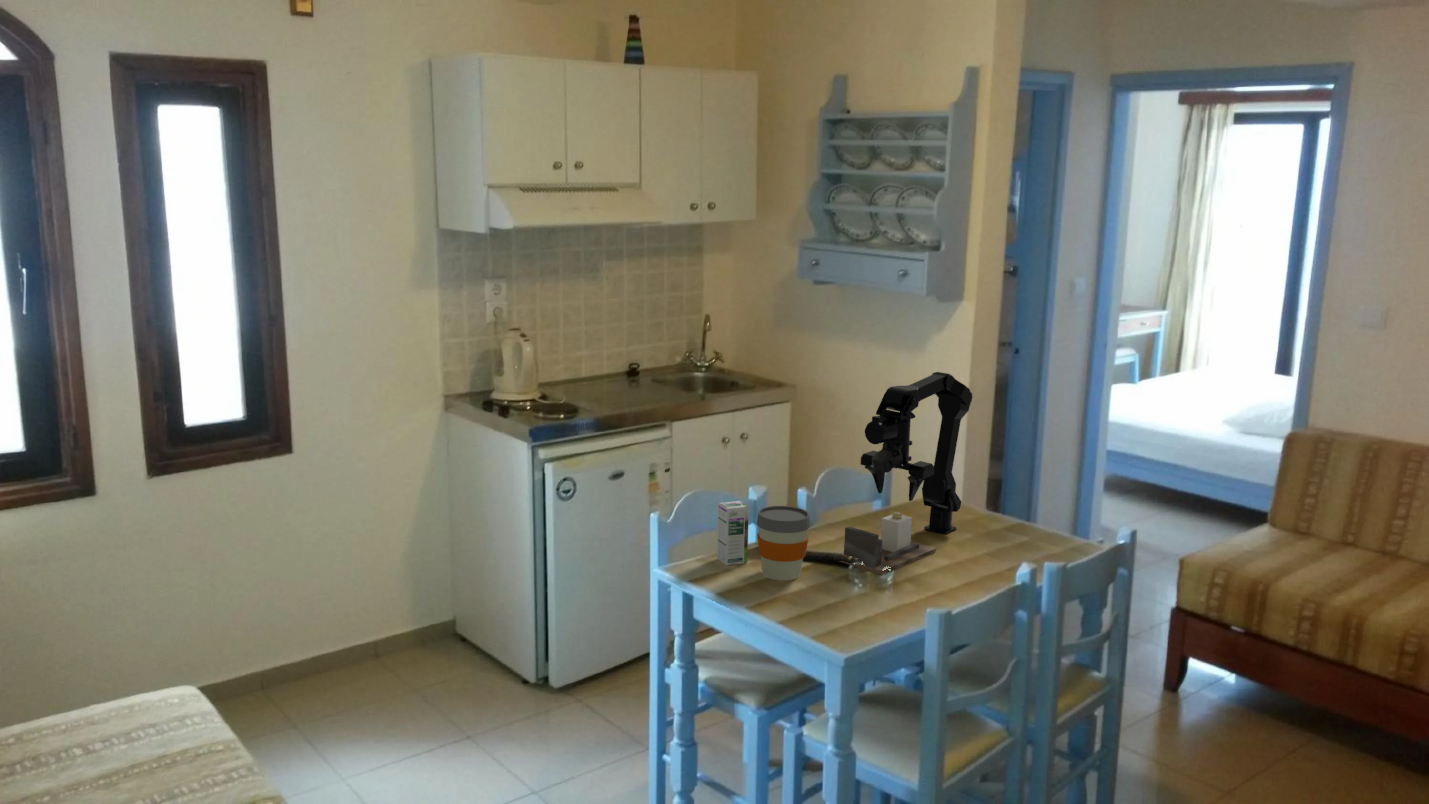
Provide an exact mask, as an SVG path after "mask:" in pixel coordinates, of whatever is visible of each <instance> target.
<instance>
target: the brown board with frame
mask: <svg viewBox="0 0 1429 804" xmlns="http://www.w3.org/2000/svg"><path fill="white" fill-rule="evenodd" d="M879 537H880V535H879V534H877V533H874V532H870V531H867V530H863V529H859V528H856V527H854V526H846V527H845V528H844V544H843V545H844V546H843V552H842V553H841V554H842V555H847V556H852V557H856V558H859V559H860V560H862V561H863V563H864V564H865V566H864V565H861V564H860V565H856V564H855V565H854V564H852V563H848V562H844V561H838V562H839V563H843V564H845V565H849V566H851V567H855V568H858V569H861V570H865V571H868V572H871V573H874V574H877V575H881V576H884V575H886V574H888V573H890V572H893V571H894V570H897V569H900V568H901V567H904V566H906V565H909V564H911V563H913V562H916V561H918V560H920V559H922V558H925V557H927V556H929V555H931V554H934V553H936V551H937V548H936V547H933V546H929V545H926V544H923V543H918V542H915V541H912V540H911V541H910V546H908V547H905V548H903V549H901V550H898V551H896V552H890V551H887V550H883V549H882V541H883V540H881V538H879ZM834 561H836V560H835V559H834ZM836 562H837V561H836ZM886 566H887V567H888V566H889V567H891V568H888V569H891V571H889V570H888V569H886V570H884V571H882V569H883V568H884V567H886Z"/></svg>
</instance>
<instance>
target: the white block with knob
mask: <svg viewBox="0 0 1429 804" xmlns="http://www.w3.org/2000/svg"><path fill="white" fill-rule="evenodd" d="M912 522H913V517H911V516H907V515H904V514H903V513H902V512H900V511H894V512H893V511H892V513H891V514H890V515H887V516H884V517H882V518H881V524H880V525H881V527H880V529H881V530H880V539H881V540H883V541H882V549H883V550H887V551H890V552H896V551H898V550H901V549H903V548H905V547H908V546H910V541H912V540H911V539H912Z"/></svg>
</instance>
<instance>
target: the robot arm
mask: <svg viewBox="0 0 1429 804" xmlns="http://www.w3.org/2000/svg"><path fill="white" fill-rule="evenodd" d="M934 395H935V396H936V397H937V398H938V401H937V407H938V409H939V412H940V415H941V422H940V427H939V434H938V439H937V445H936V449H935V451H936V452H935V458H934V462H933V464H932V463H930V462H927V461H922V460H919V461H916V462H913V463H912V462H911V461H912V456H910V446H913V440H910V439H911V438H910V437H911V420H912V419H914V418H916V414H915V413H913V411H914V410H915V409H916V408H918V407H919V403H920V402H921V401H923V400H925V399H927V398H929V397H932V396H934ZM972 400H973V393H972V392H971V388H970V387H968V386H966V385H965V384H963V383H962V382H960V381H959V380H958V379H956V378H955V377H954V376H953V375H952V374H950V373H947V372H942V371H936V372H933V373H932V374H931V375H929V376H927V377H924V378H922V379H919V380H918V381H915V382H913V383H911V384H908V385H894V386H889V388H887V389H886V391H885V392H884V394H883V396H882V399H881V401H880V403H879V405H878V407H877V410H876V412H875V415H874V416H872V417H871V421H870V422H868V423H867V425H866V426H865V429H864V435H865V438H866V440H867V441H868V443H870V444H872V445H879V444H882V448H881V450H878V451H877V450H876V451H875V450H871V451H867V452H865V453H863V454H862V455H861V456H860V460H859V461H860V463H859V464H860V465H861V466H864V470H865V469H866V470H868V471H869V472H870V473H871V475H872V477H873V481H874V483H875V486H876V490H877V493H878V494H881V493H883V489H884V484H885V476H886V474H887V473H890V472H892V470H893V469H900V470H905V471H908V474H909V476H907V479H908V481H909V487H908V501H909V502H912V501H914V498H915V496H916V495H917V493H918V491H919V488H920V487H921V485H922V488H921V494H922V500H923V506H925V507H926V506H927V507H930V512H929V520H928V522H929V524H928V525H925V526H924V528H923V529H924V530H928V531H931V532H936V533H938V534H942V535H946V534H948V533H951V532H954V531H956V530H957V527H956V526H953V525H952V523H953V513H954V512H955V513H957V512H959V510H960V509H961V506H962V500H961V499H960V496H959V495H958V494H957V493H956V489H957V483H956V479H955V477H954V474H953V468H954V462H955V456H956V450H957V445H958V444H957V443H958V439H959V433H960V426H961V421H962V419H963V418H964V417H965V416H966V415H967V413H968V412H969V411H970V407H971V403H972V402H973V401H972ZM922 483H923V484H922Z"/></svg>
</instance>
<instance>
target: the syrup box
mask: <svg viewBox="0 0 1429 804" xmlns="http://www.w3.org/2000/svg"><path fill="white" fill-rule="evenodd" d="M749 509H750V508H749V505H747V504H746V503H745V502H743V501H741V500H736V501H727V502H718V503H717V545H716V546H717V547H716V548H717V549H716V551H717V552H716V553H717V554H716V558H717V559H718V560H719V562H721V563H722V564H723V565H724V566H727V567H728V566H731V565H742V564H747V563H748V545H749V544H748V543H749V540H748V539H749Z"/></svg>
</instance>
